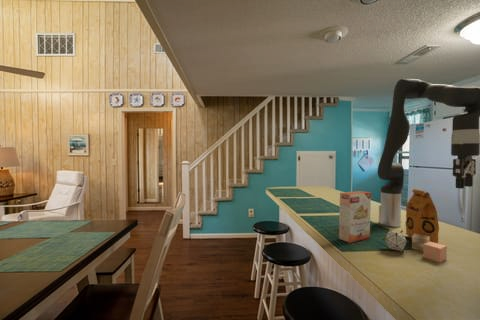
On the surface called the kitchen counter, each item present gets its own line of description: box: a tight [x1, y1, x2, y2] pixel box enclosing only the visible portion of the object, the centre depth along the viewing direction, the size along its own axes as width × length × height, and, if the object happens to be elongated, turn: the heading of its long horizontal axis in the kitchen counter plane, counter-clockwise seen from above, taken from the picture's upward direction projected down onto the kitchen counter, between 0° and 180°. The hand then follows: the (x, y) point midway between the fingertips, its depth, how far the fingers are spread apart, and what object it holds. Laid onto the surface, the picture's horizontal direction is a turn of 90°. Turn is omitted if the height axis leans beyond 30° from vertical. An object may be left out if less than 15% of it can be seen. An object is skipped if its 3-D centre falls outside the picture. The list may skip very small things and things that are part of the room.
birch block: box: [411, 234, 430, 252], centre depth 95 cm, size 5×5×5 cm
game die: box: [382, 228, 410, 254], centre depth 93 cm, size 9×8×10 cm
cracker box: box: [338, 190, 372, 244], centre depth 106 cm, size 14×6×21 cm, turn 118°
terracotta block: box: [423, 242, 448, 263], centre depth 86 cm, size 5×5×5 cm
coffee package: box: [404, 188, 440, 244], centre depth 104 cm, size 10×12×22 cm
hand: (464, 187), depth 86 cm, fingers open, 8 cm apart
